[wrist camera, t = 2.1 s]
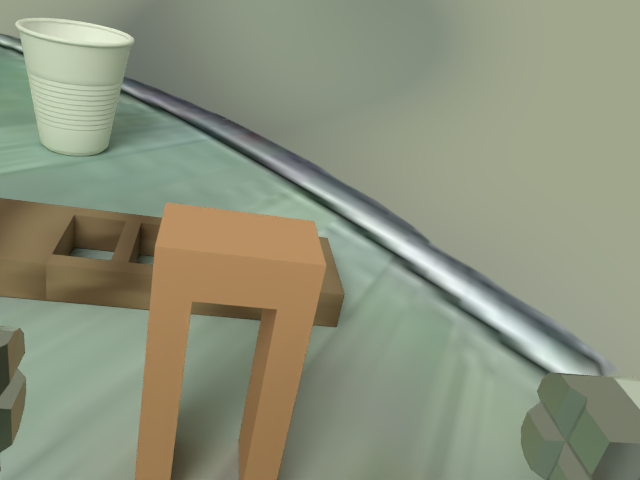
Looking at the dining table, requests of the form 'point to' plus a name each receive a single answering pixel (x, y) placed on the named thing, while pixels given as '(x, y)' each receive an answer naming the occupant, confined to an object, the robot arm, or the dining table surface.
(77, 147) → the cup
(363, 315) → the dining table surface
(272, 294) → the clip
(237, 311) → the rail
